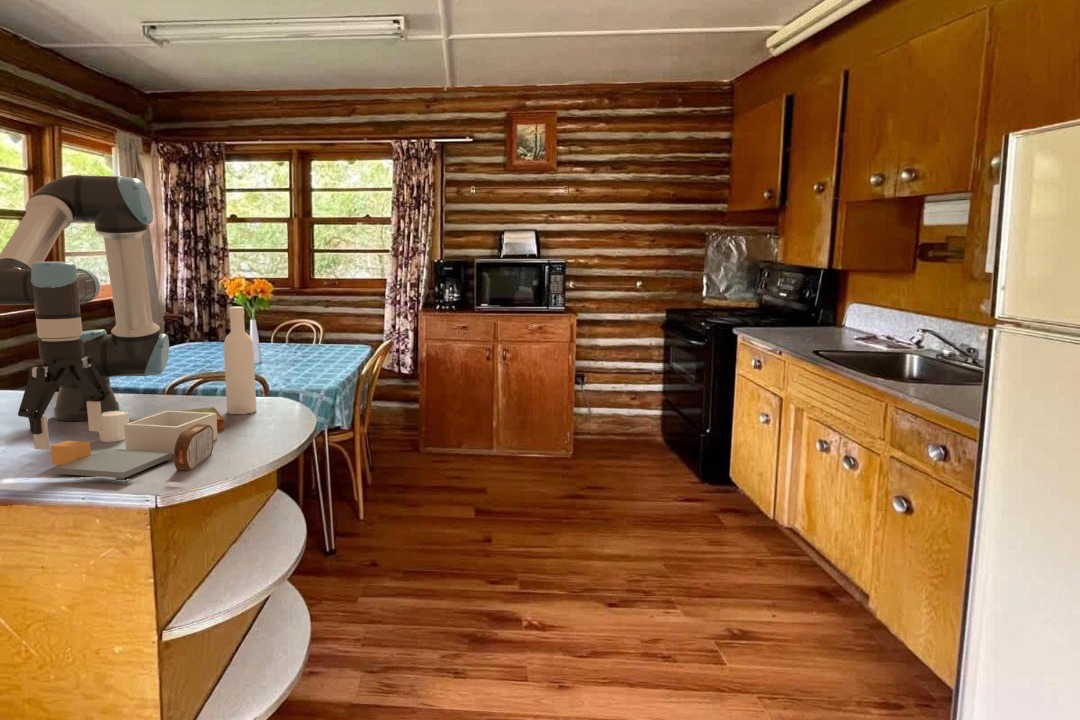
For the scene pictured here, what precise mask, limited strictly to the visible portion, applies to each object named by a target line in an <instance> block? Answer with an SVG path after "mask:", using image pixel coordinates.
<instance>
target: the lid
mask: <svg viewBox="0 0 1080 720" xmlns="http://www.w3.org/2000/svg"><path fill="white" fill-rule="evenodd" d="M50 455H51V465H54V466H56V467H54V472H55V473H54V474H59V475H72V476H82V477H85V476H86V477H99V478H100V477H101V478H112V479H113V478H115V481H116V480H126V481H127V479H128V480H130V479H129V477H130V476H132V475H135V474H137V473H139V472H143V471H145V470H146V469H150V468H151V467H154V466H156V465H159V464H162V463H164V462H166V461H168V460H170V459H172V458H173V455H172V453H171V452H156V451H140V450H126V448H125V449H121V448H106V449H104V450H101V451H97V452H96V453H93V454H91V442H90V441H80V440H78V441H77V440H64V441H61V442H58V443H54V444H51V445H50Z"/></svg>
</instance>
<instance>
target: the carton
mask: <svg viewBox="0 0 1080 720" xmlns="http://www.w3.org/2000/svg"><path fill="white" fill-rule="evenodd" d="M182 411H183V412H201V413H216V416H217V432H222V431H225V419H224V418H223V416H222V415H221V414H220V413H219V412H218V410H217V409H216V407H215V406H214V407H213V406H212V407H205V408H203V407H202V408H193V409H186V410H182Z"/></svg>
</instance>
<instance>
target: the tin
mask: <svg viewBox="0 0 1080 720" xmlns="http://www.w3.org/2000/svg"><path fill="white" fill-rule="evenodd" d="M213 449H214V441H213V428H212V427H211V426H210V425H205V424H195V425H194V426H192V427H190V428H189V429H187V430H185V431H183V432H182V433H181V434H180V435H179V437H178V439H177V441H176V444H175V448H174V455H173V464H174V467H175V469H176V471H191V470H193V468H194V467H196V466H198V465H199V464H200V463H201V462H203V461H204V460H205V459H207V458H208V457H209V456H211V455H212V453H213Z"/></svg>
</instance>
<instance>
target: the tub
mask: <svg viewBox="0 0 1080 720" xmlns="http://www.w3.org/2000/svg"><path fill="white" fill-rule="evenodd" d="M183 411H184V410H181V411H179V410H164V411H162V412H159V413H156V414H152V415H149V416H147V417H143V418H141V419H140V418H139V419H136V420H134V421H129V423H127V424H124V430H125V440H124V443H125V450H140V451H156V452H171V453H172V456H174V448H175V444H176V441H177V439H178V437H179V435H180V434H181V433H182V432H183V431H185V430H187V429H189V428H190V427H192V426H194V425H195V424H205V425H210V426H211V427H212V428H213V442H214V441H216V440H218V437H219V435H218V431H217V416H216V413H201V412H183Z"/></svg>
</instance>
